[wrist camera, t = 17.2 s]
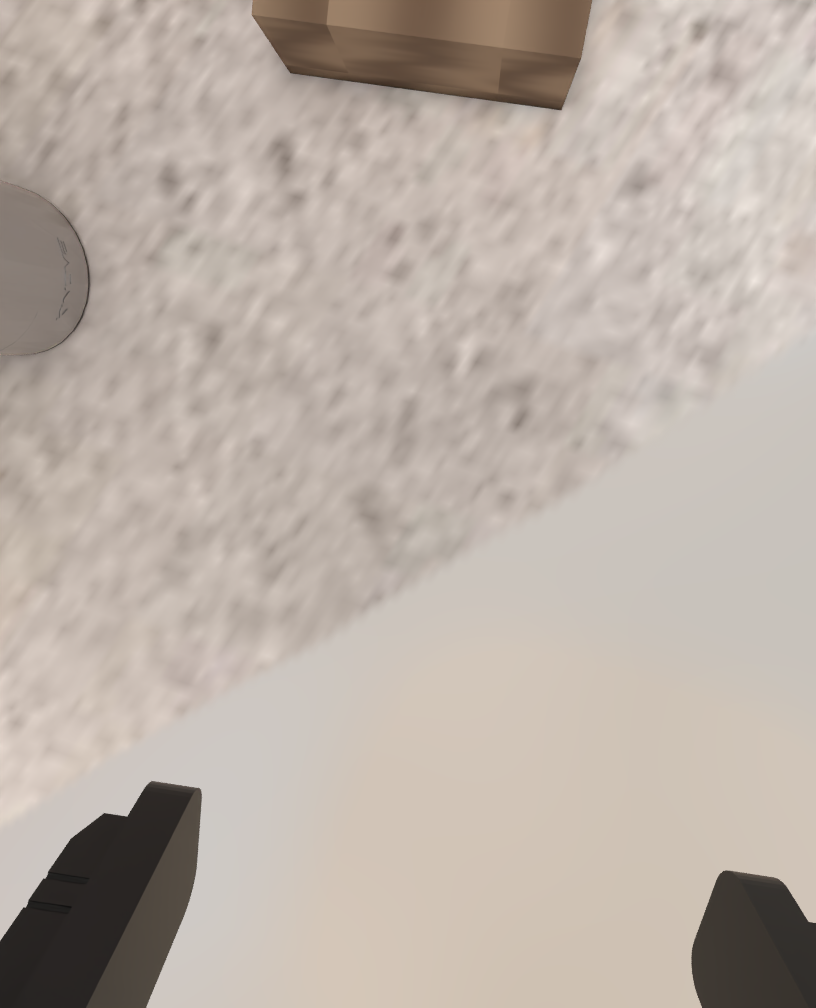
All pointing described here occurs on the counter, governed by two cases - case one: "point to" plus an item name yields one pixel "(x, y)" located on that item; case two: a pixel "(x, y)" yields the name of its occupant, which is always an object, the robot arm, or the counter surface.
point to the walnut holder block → (435, 44)
